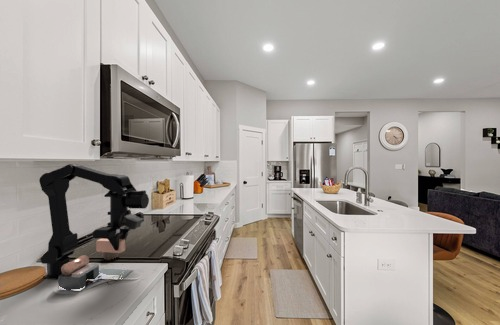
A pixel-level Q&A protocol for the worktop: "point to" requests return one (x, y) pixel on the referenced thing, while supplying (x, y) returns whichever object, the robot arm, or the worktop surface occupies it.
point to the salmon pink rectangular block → (109, 246)
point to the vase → (109, 255)
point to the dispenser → (77, 273)
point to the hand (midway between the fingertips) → (119, 248)
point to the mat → (115, 272)
